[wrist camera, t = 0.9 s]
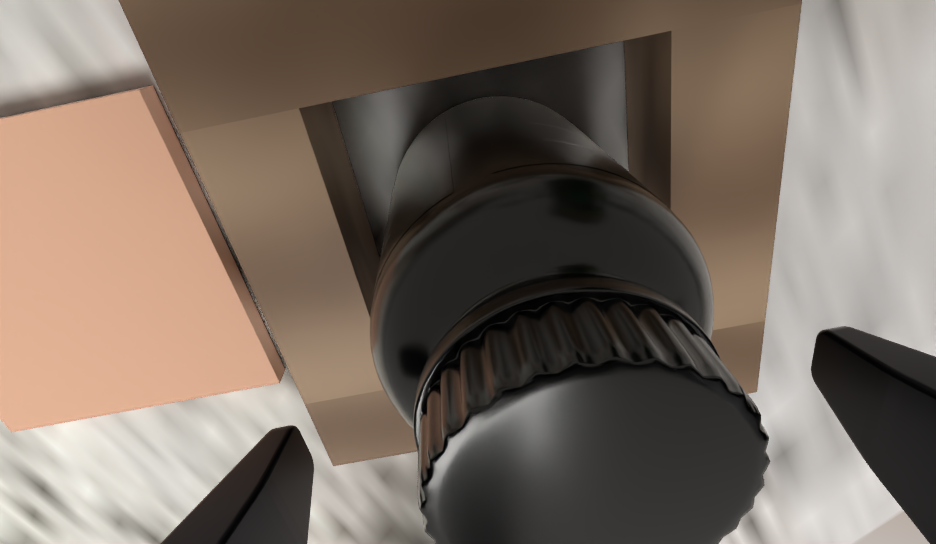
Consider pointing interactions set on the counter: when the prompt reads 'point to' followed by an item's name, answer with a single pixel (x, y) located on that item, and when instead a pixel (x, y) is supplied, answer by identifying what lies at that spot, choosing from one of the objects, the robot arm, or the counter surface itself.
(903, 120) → the counter surface
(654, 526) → the supplement bottle
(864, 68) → the counter surface
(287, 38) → the walnut caddy
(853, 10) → the counter surface
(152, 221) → the terracotta coaster
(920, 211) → the counter surface
